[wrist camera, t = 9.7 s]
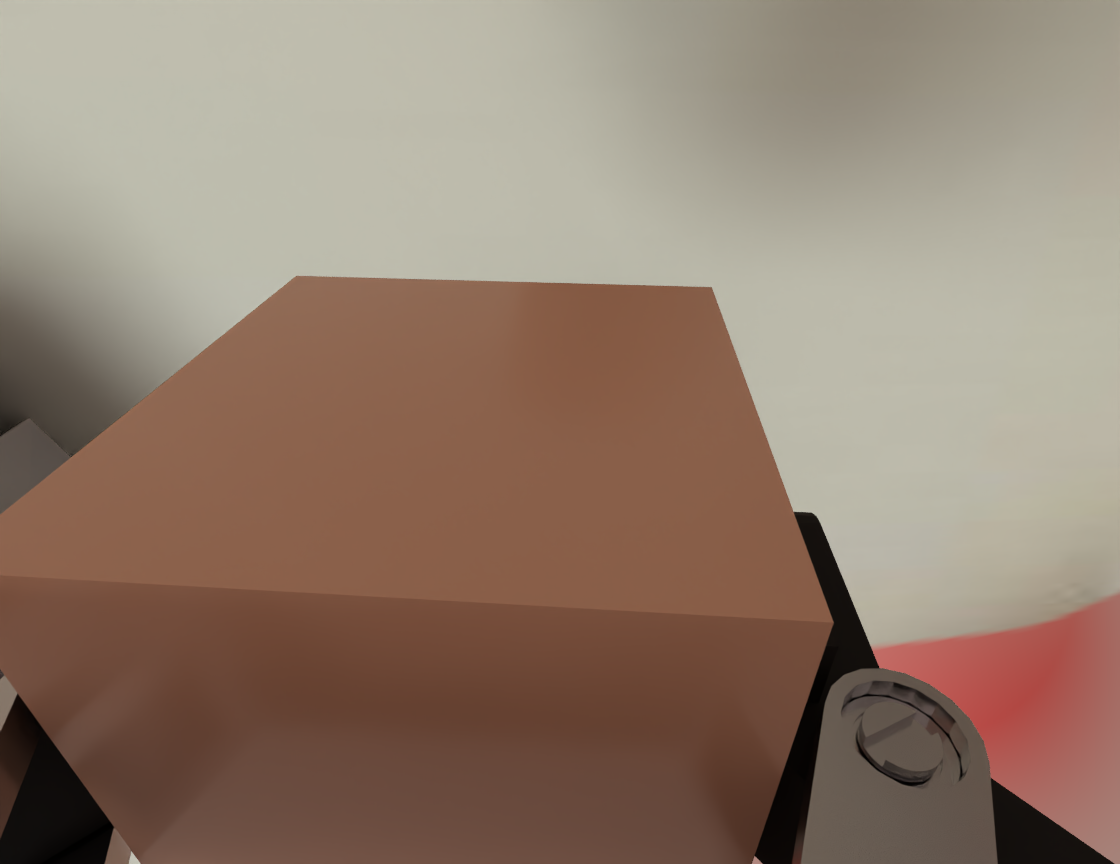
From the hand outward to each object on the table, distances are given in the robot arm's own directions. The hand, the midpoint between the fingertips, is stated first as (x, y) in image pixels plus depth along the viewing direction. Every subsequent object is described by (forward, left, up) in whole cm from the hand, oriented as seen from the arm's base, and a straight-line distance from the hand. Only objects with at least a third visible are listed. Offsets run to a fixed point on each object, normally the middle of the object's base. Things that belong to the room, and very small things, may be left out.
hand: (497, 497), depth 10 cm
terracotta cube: (0, 0, -1) cm, 1 cm away
